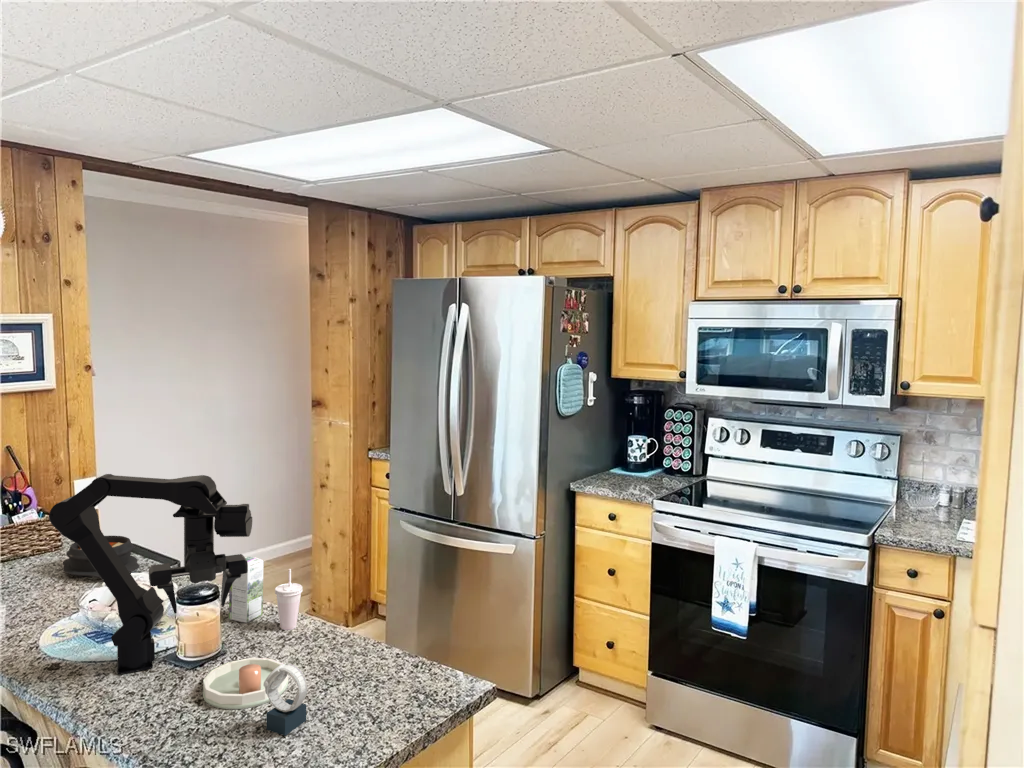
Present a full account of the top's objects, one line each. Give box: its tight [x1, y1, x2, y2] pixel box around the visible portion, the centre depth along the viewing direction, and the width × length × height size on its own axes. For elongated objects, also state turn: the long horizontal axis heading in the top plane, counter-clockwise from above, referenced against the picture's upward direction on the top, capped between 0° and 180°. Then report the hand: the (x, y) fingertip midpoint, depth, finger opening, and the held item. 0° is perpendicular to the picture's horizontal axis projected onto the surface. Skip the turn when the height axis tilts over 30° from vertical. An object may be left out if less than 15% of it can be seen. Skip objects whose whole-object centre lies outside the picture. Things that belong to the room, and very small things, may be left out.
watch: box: [263, 663, 308, 737], centre depth 129 cm, size 6×8×11 cm
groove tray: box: [202, 657, 289, 710], centre depth 142 cm, size 16×16×2 cm
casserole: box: [62, 535, 140, 578], centre depth 205 cm, size 25×19×8 cm
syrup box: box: [228, 556, 265, 624], centre depth 175 cm, size 6×6×14 cm
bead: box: [239, 664, 261, 694], centre depth 138 cm, size 4×4×5 cm
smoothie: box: [274, 568, 304, 631], centre depth 171 cm, size 6×6×14 cm
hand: (199, 609), depth 150 cm, fingers open, 9 cm apart
